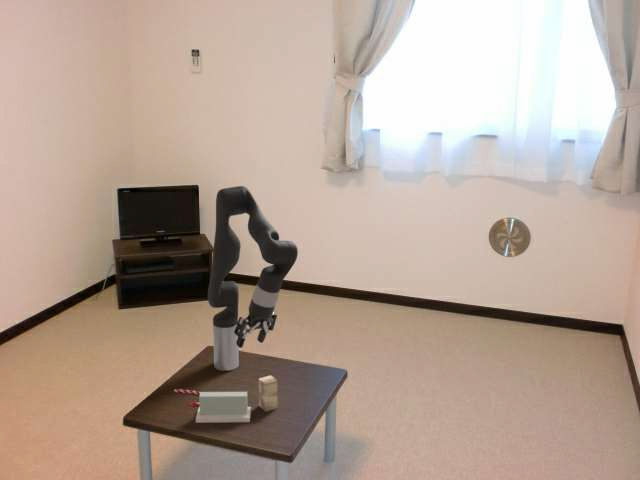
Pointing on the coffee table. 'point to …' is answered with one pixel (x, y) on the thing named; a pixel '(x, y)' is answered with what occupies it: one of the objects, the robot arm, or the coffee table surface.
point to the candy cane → (190, 393)
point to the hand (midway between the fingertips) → (249, 343)
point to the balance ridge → (223, 407)
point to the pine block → (268, 393)
